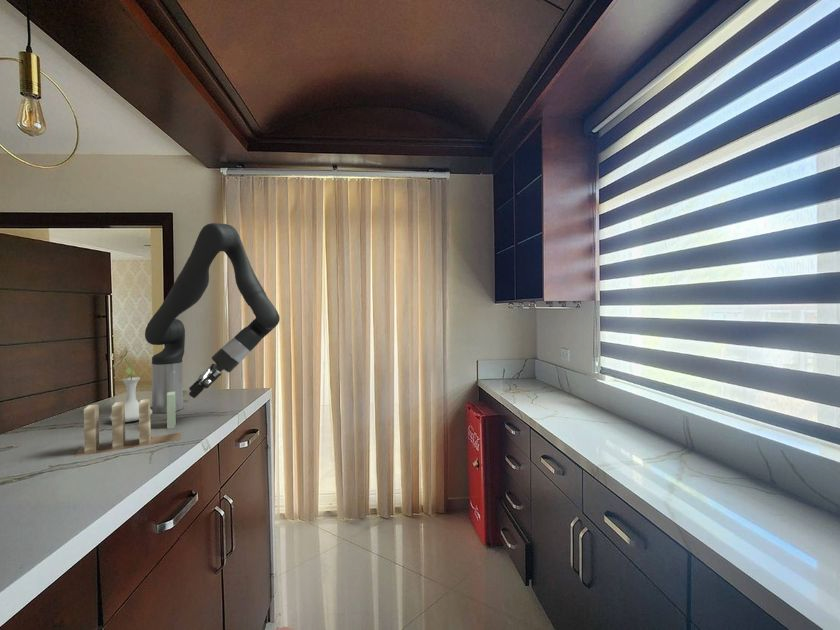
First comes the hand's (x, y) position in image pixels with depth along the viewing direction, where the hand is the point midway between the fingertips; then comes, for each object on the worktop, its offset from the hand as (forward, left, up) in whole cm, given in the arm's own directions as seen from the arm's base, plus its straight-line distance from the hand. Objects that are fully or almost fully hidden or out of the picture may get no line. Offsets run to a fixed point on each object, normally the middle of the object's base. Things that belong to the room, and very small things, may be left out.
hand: (191, 393), depth 118 cm
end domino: (0, -25, -9) cm, 27 cm away
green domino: (-3, -5, -10) cm, 12 cm away
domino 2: (+6, -16, -9) cm, 19 cm away
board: (+4, -18, -10) cm, 21 cm away
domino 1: (+3, -21, -9) cm, 23 cm away
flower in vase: (-24, -6, -10) cm, 26 cm away
